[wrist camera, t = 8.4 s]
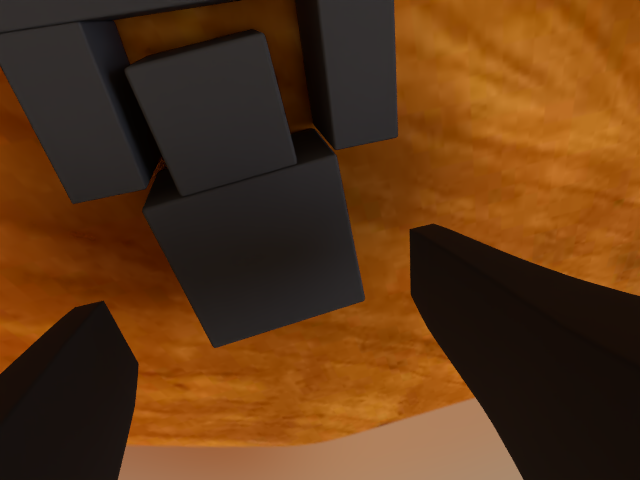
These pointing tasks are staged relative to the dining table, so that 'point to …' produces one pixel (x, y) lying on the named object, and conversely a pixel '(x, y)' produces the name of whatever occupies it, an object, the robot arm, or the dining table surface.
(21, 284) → the dining table surface
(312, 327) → the dining table surface
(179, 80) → the pad
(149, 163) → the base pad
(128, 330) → the dining table surface
